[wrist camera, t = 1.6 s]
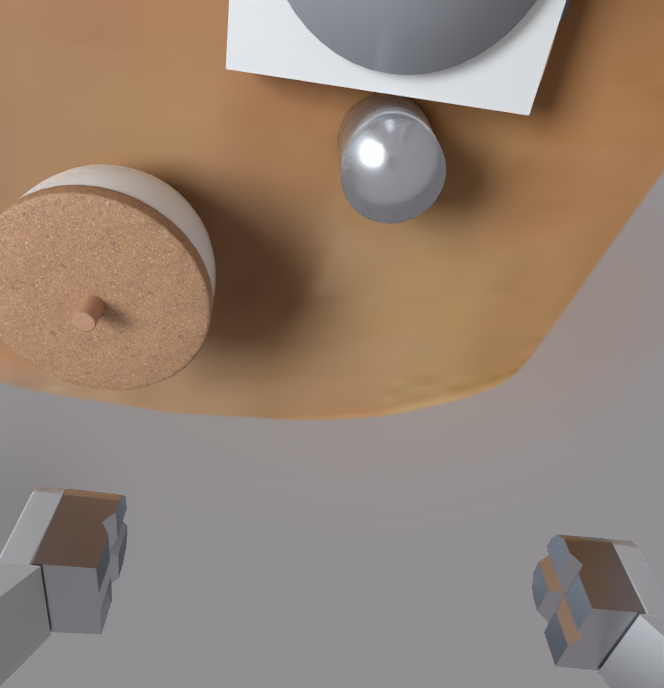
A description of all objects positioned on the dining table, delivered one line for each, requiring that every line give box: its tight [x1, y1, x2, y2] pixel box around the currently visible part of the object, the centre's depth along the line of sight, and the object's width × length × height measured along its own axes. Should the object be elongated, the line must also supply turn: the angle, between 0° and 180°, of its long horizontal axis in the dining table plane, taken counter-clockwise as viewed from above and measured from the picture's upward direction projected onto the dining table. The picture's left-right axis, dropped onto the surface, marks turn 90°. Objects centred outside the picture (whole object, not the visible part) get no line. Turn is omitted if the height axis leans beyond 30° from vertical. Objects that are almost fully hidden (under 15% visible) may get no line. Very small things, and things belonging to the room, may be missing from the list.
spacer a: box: [338, 93, 446, 223], centre depth 31 cm, size 5×5×5 cm
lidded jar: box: [0, 164, 216, 390], centre depth 32 cm, size 11×11×9 cm
